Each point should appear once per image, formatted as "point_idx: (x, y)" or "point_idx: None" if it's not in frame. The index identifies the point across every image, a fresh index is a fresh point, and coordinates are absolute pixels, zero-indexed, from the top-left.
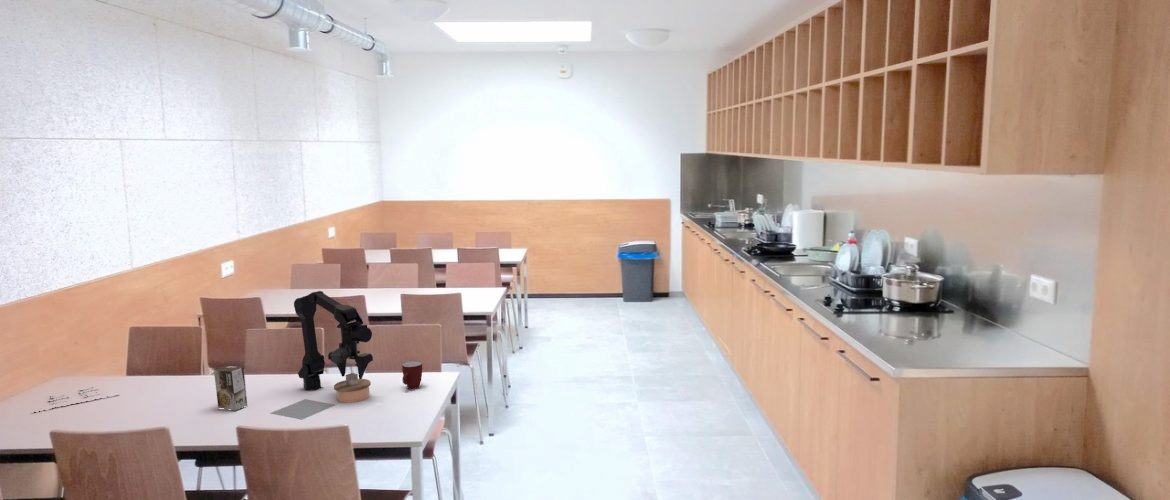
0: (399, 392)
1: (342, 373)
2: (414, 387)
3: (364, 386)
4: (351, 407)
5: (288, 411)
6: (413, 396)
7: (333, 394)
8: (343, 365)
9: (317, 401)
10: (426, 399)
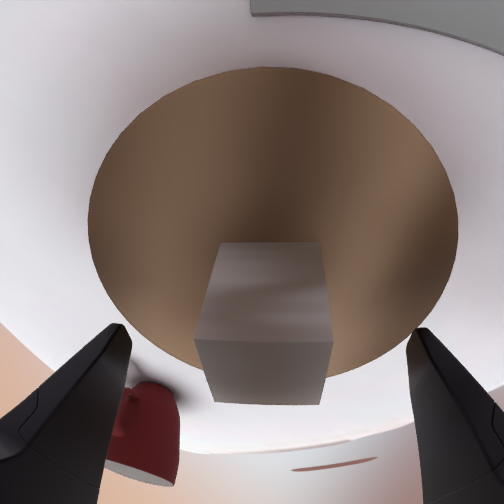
0: (143, 350)
1: (427, 361)
2: (135, 386)
3: (98, 269)
4: (139, 72)
5: None
6: (61, 327)
7: (471, 228)
8: (441, 470)
9: (467, 36)
10: (13, 313)
